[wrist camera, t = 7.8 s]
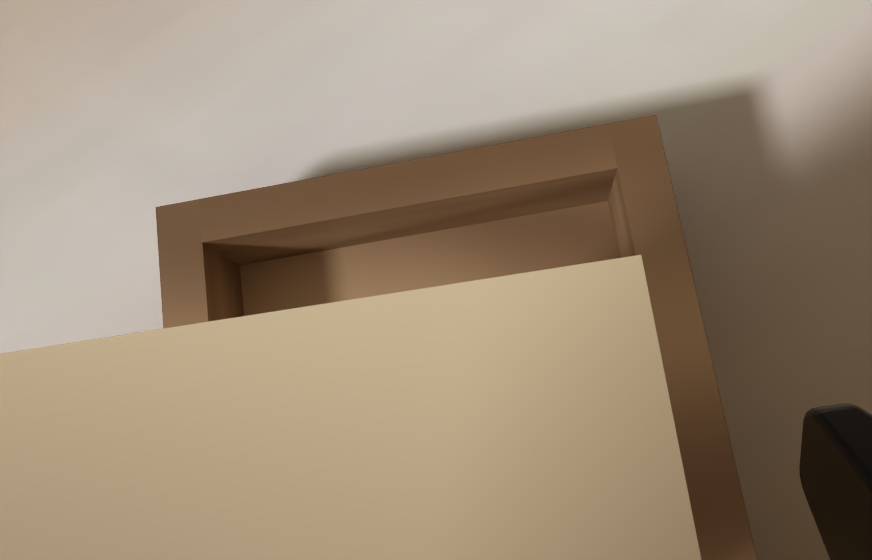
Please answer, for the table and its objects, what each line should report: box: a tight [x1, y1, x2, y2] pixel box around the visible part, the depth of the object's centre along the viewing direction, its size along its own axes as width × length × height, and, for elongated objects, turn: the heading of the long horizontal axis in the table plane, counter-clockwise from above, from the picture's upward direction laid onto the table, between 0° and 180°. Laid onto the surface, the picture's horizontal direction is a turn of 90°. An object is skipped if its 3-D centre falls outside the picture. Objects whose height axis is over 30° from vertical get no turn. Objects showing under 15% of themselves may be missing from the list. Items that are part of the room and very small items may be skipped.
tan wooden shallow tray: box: [156, 115, 757, 560], centre depth 16 cm, size 16×11×3 cm
